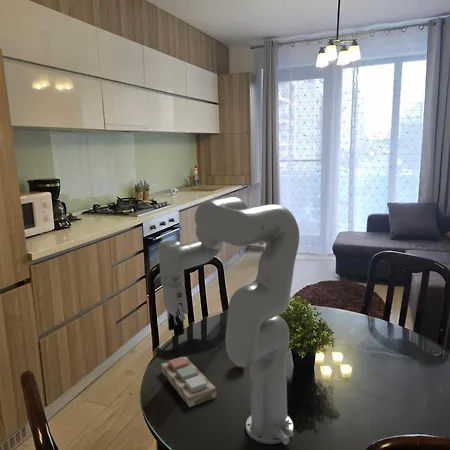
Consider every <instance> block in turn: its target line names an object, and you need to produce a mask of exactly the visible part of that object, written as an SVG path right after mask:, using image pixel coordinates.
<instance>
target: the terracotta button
mask: <svg viewBox="0 0 450 450" xmlns="http://www.w3.org/2000/svg"><path fill="white" fill-rule="evenodd" d="M183 357H184V356H179V357H176V358H173V359H170V360H169V359H168V362H169V367H170V368H171V369H172V370H173V372H176V371H177V370H178V369H181V368H184V367H187V366H189V365H188V362H187V361H186V360H185V359H184V358H183Z"/></svg>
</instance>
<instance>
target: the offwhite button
mask: <svg viewBox="0 0 450 450" xmlns="http://www.w3.org/2000/svg"><path fill="white" fill-rule="evenodd" d="M185 384H186V387H187V388H188V390H189V391H190V392H191V393H194V392H197V391H200V390H203V389H206V388H207V382H206V381H205V380H204V379H203V378H202V377H201V376H200V375H199V376H196V377H193V378H190V379H187V380H185Z"/></svg>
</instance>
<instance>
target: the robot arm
mask: <svg viewBox="0 0 450 450" xmlns="http://www.w3.org/2000/svg"><path fill="white" fill-rule="evenodd" d="M194 222H195V225H196V227H195V235H196V238H197V240H195V241H190V242H186V243H183V244H182V243H181V241H179V240H173V239H172V240H171V239H170V240H164V241H161V242H160V243H159V244H158V259H159V272H160V274H159V275H160V285H161V287H162V296H163V297H162V298H163V299H162V301H163V307H164V309H165V310H166V314H167V323H168V324H167V325H168V330H169V331H173V335H174V337H179V336H182V335H184V334H185V326H184V325H185V324H184V323H185V321H184V320H186V317H185V315H187V314H188V313H189V310H188V300H187V294H186V287H185V271H184V270H188V269H190V268H194V267H197V266H201V265H203V264H206V263H209V262H210V261H211V260H213V259H215V257H217V255H219V254H220V252H221V250H222V247H223V243H226V244H229V245H232V246H236V247H247V246H251V245H256V244H258V243H262V242H265V241H266V242H267V243H266V245H265V247H264V249H263V251H262V252H261V255H260V258H259V260H258V267H257V273H256V278H255V279H254V281H253V282H251V283H249V284H245V285H244V286H241V287H240V288H238V289H236V290H235V291H234V293H233V294H232V296H231V297H230V300H229V303H228V308H227V309H228V310H227V320H226V321H227V322H226V332H225V349H226V353H227V355H228V357H229V359H230V361H232V362H233V363H234V364H236V365H237V366H240V368H247V367H249V389H250V390H249V391H250V393H249V395H250V415H249V417H247V419H246V422H245V431H246V433H247V434H248V436H249V437H250V438H251V439H253V440H254V441H256V442H258V443H261V444H267V445H276V444H279V443H283V445H288V444H289V443H290V440H291V438H292V437H293V436H294V435H295V432H294V423H293V420H292V418H290V416H289V415H288V395H287V394H288V393H287V391H288V390H287V389H288V388H287V386H288V385H287V384H288V383H287V382H288V381H287V361H288V352H289V351H288V350H289V345H290V338H291V337H290V328H289V326H288V323H287V322H286V320H285V319H284V318H283V317H282V316H281V315H282V314H283V313H284V312H285V311H286V310H287V309H288V307H289V303H290V297H291V291H292V285H293V284H292V283H293V278H294V269H295V265H296V264H295V263H296V259H297V254H298V250H299V244H300V229H299V225H298V222H297V220H296V217H295V216H294V215H293V213H292V212H291V211H290V210H289V209H288V208H287V207H285V206H284V205H280V204H264V205H263V204H261V205H257V206H254V207H248V204H247V203H246V202H245V201H244V200H243V199H242V198H239V197H235V196H225V197H220V198H214V199H209V200H205V201H203V202H202V203H200V204H199V205H198V207H197V208H196V210H195V213H194ZM232 362H231V363H232Z"/></svg>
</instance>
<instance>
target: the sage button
mask: <svg viewBox="0 0 450 450" xmlns="http://www.w3.org/2000/svg"><path fill="white" fill-rule="evenodd" d="M177 376H178V378H179V379H180V380H181V381H182V382H185V380H187V379H190V378H193V377H196V376H197V372H196V370H195V369H194V368H193V367H192V366H187V367H184V368H181V369H178V370H177Z"/></svg>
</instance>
